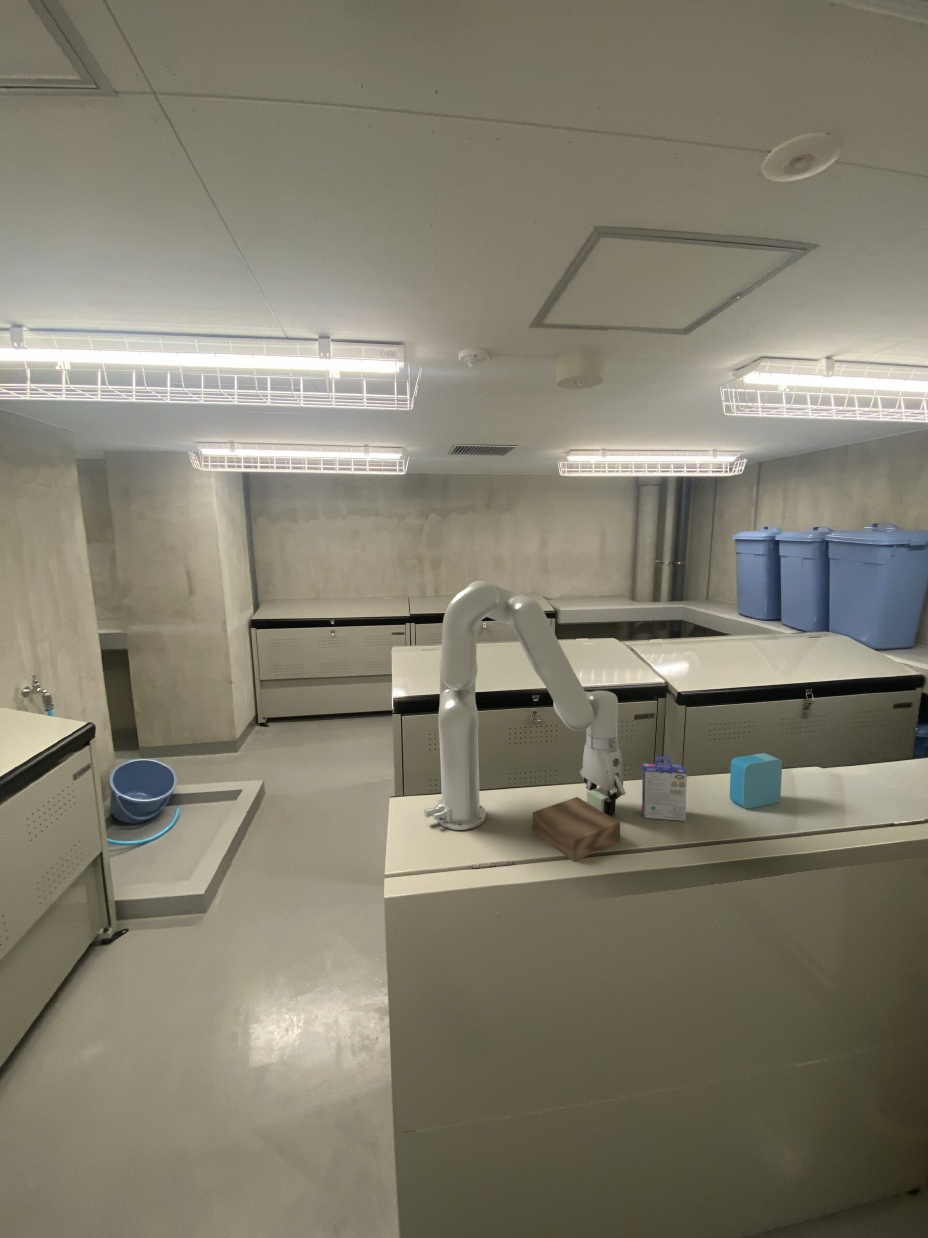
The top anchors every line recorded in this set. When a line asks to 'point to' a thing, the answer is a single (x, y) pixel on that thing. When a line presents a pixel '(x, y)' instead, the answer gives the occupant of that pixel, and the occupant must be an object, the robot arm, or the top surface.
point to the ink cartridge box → (664, 790)
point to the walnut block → (576, 828)
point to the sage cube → (597, 798)
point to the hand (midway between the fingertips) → (601, 808)
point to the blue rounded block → (755, 780)
